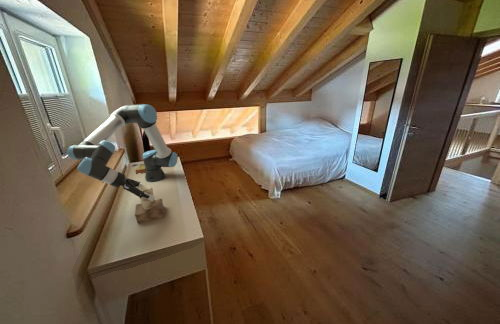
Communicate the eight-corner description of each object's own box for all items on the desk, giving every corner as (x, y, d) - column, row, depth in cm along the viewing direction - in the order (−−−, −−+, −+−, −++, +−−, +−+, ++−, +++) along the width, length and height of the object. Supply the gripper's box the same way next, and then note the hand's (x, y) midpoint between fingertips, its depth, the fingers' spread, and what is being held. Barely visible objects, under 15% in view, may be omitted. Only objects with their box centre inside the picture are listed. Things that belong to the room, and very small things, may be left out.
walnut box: (163, 206, 133) (161, 198, 131) (164, 217, 122) (162, 208, 120) (138, 213, 127) (136, 204, 125) (137, 224, 117) (134, 215, 115)
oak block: (152, 202, 127) (148, 184, 122) (156, 206, 122) (152, 187, 118) (142, 206, 123) (137, 188, 119) (145, 210, 119) (140, 191, 114)
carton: (136, 174, 184) (134, 169, 183) (141, 167, 199) (140, 163, 197) (146, 173, 186) (145, 168, 184) (150, 166, 200) (149, 162, 199)
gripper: (107, 176, 117) (143, 192, 130) (111, 193, 98) (152, 209, 111) (116, 165, 118) (150, 181, 131) (121, 179, 99) (160, 197, 112)
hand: (151, 194), depth 121 cm, fingers open, 12 cm apart
